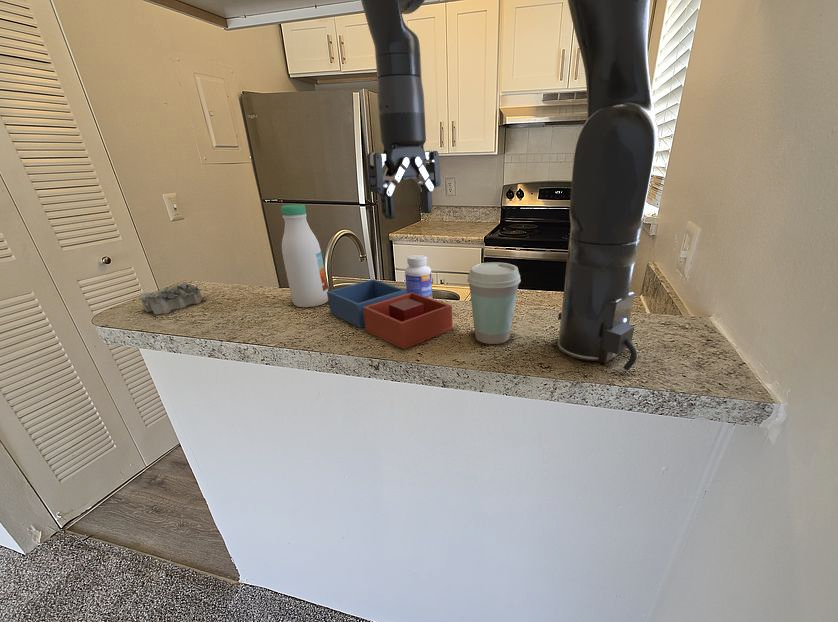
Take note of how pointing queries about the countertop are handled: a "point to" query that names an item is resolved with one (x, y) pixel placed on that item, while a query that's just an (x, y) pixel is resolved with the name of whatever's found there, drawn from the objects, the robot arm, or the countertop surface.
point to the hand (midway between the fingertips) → (408, 215)
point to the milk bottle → (302, 259)
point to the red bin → (408, 321)
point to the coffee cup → (493, 300)
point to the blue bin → (359, 299)
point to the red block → (406, 309)
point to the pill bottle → (418, 276)
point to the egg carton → (171, 298)
